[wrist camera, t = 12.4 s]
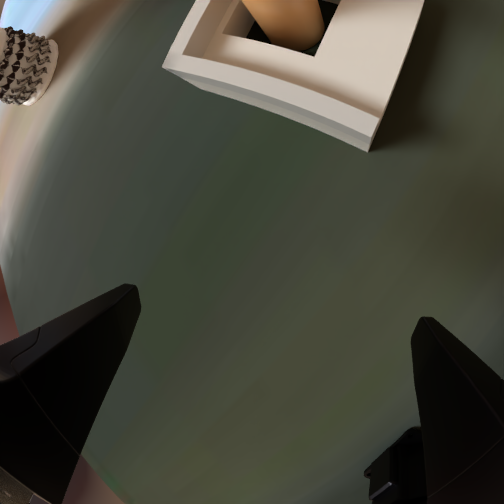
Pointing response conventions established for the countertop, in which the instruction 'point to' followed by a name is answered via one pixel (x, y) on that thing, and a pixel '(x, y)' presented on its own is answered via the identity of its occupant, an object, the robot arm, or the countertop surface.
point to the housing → (302, 64)
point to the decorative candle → (25, 66)
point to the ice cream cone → (289, 22)
